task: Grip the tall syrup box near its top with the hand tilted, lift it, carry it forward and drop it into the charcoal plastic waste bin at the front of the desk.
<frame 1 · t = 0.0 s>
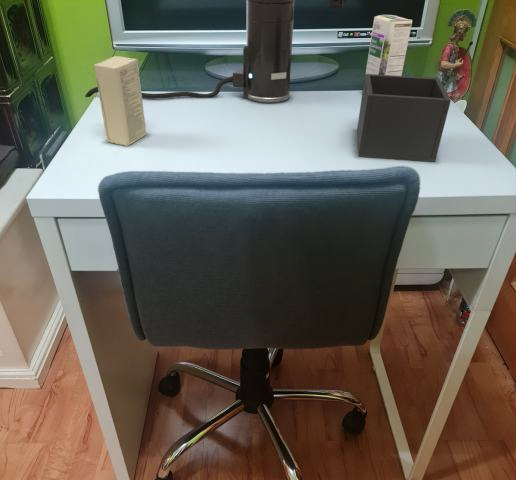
hand: (339, 5, 95), 17 cm above the table, tool pointing down, fingers open, 8 cm apart
waste bin: (393, 145, 89), on the table
cosmetic box: (127, 140, 89), on the table
syrup box: (379, 95, 112), on the table
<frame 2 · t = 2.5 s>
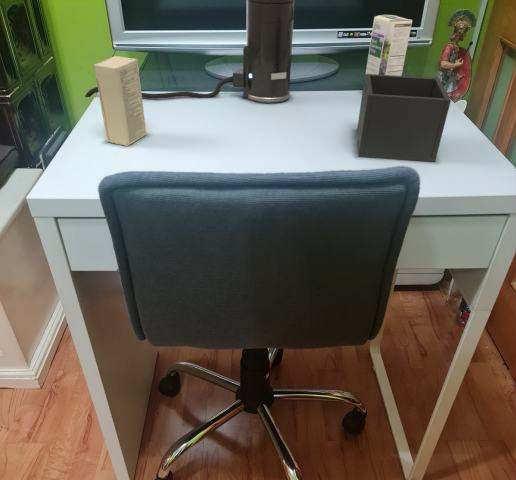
nothing on the table moved.
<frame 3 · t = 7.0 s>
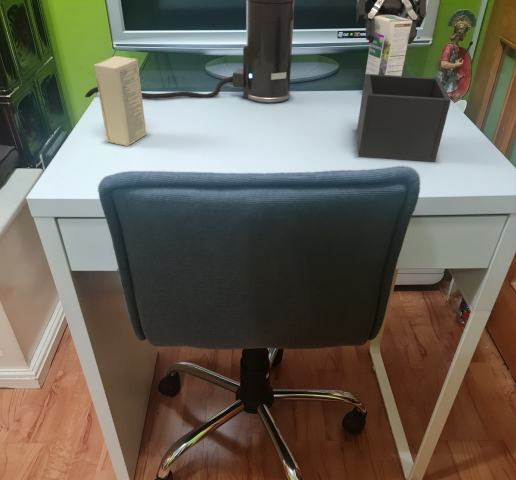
hand: (391, 41, 104), 11 cm above the table, tool tilted 45°, fingers closed on syrup box, 7 cm apart
syrup box: (379, 95, 112), on the table, touching gripper
everything else where it was.
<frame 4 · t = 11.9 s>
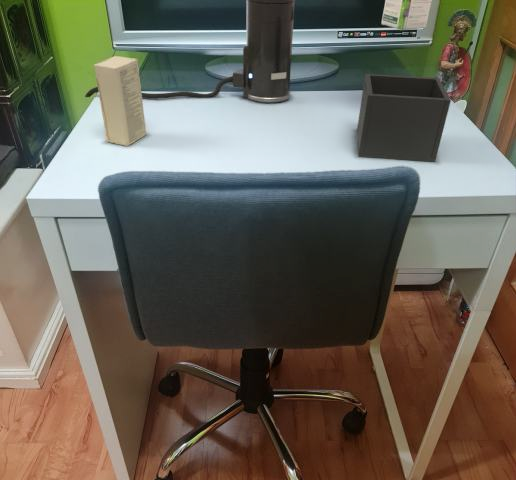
syrup box: (403, 27, 89), point 16 cm above the table, touching gripper
everything else where it was.
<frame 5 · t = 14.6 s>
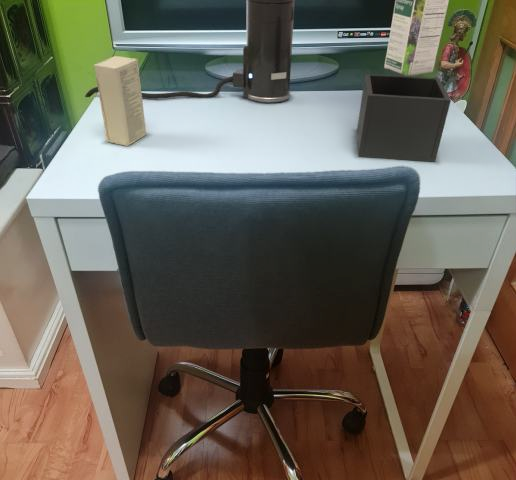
syrup box: (408, 71, 81), point 12 cm above the table, touching gripper
everything else where it was.
when the fingers open (17 cm above the table, at t = 16.8 s): syrup box drops 6 cm, resting on waste bin.
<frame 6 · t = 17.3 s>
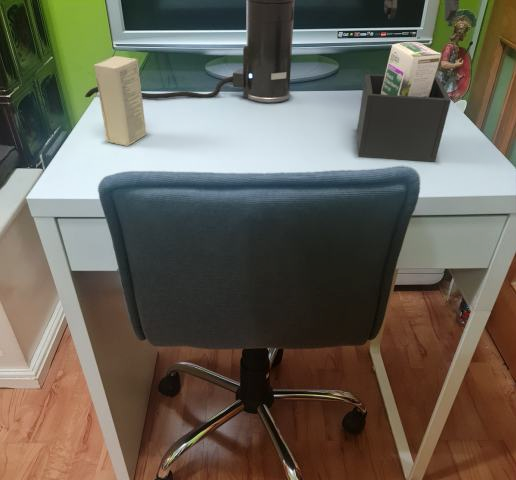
hand: (421, 16, 75), 19 cm above the table, tool tilted 45°, fingers open, 8 cm apart
syrup box: (392, 140, 89), point 1 cm above the table, touching waste bin
everything else where it was.
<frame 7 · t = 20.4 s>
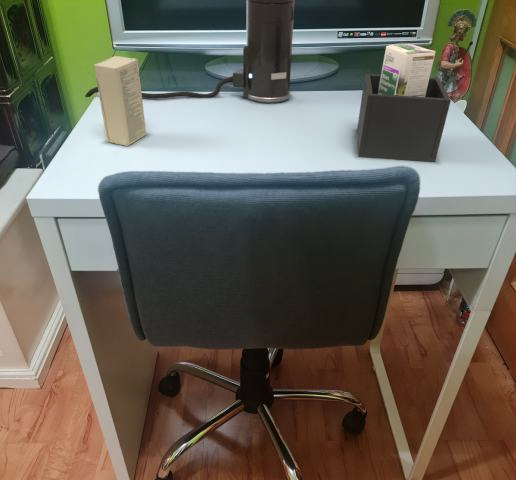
nothing on the table moved.
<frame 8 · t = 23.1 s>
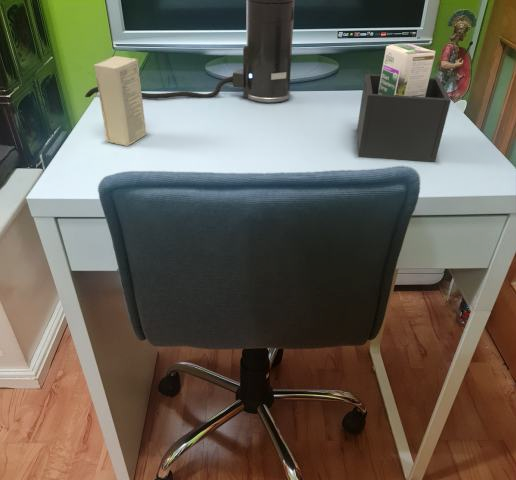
nothing on the table moved.
at the end: syrup box inside the target area in the waste bin (0.4 cm from its centre), point 0.4 cm above the waste bin's base; the gripper is holding nothing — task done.
